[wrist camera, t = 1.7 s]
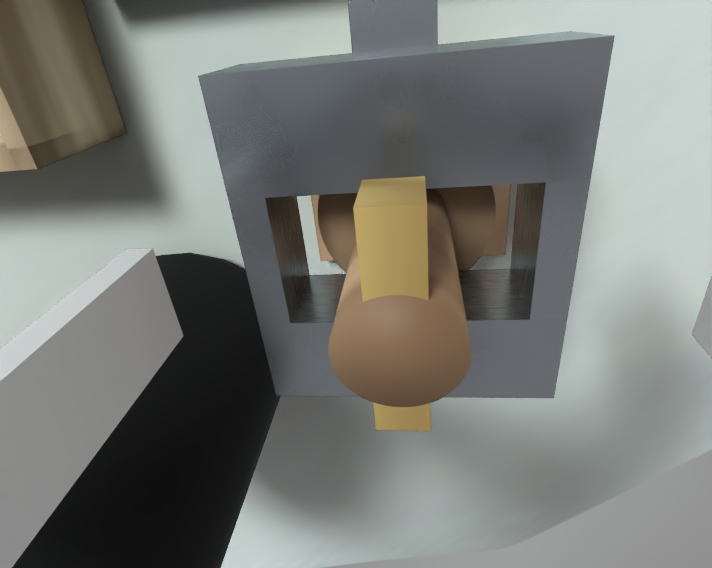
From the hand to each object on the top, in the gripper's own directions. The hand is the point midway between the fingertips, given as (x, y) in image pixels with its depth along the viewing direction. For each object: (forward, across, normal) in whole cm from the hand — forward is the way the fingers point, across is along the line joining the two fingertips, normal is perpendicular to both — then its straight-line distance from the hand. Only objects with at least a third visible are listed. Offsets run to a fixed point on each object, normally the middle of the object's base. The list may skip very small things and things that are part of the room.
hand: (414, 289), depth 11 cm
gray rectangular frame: (+4, 0, 0) cm, 5 cm away
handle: (+12, 0, 0) cm, 12 cm away
